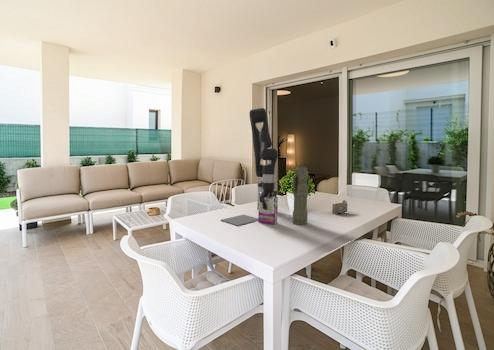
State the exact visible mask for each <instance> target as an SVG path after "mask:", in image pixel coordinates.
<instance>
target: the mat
mask: <svg viewBox="0 0 494 350" xmlns="http://www.w3.org/2000/svg"><path fill="white" fill-rule="evenodd" d="M220 222H223V223H227V224H229V225H233V226H236V227H239V226H243V225H247V224H251V223H255V222H258V217H254V216H249V215H246V214H240V215H236V216H231V217H227V218H223V219H220Z"/></svg>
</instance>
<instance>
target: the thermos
mask: <svg viewBox="0 0 494 350" xmlns="http://www.w3.org/2000/svg"><path fill="white" fill-rule="evenodd" d="M309 188H310V175H309V173H308V168H307V167H306V166H296V168H295V170H294V175H293V177H292V193H293V211H292V224H293V225H297V226H306V225H308V211H307V210H308V196H309V190H310V189H309ZM305 224H306V225H305Z"/></svg>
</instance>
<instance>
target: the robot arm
mask: <svg viewBox="0 0 494 350" xmlns="http://www.w3.org/2000/svg"><path fill="white" fill-rule="evenodd" d="M248 114H249V120H250V121H249V122H250V127H251V133H252V135H251V136H252V145H253V146H252V147H253V153H254V166H255V169H254V170H255V175H256V177H257V178H262V179H261V180H262V181H258V182H257V196H256V197H257V198H256V199H257V204H256V205H257V207H256V209H257V211H259V196H260V202H262V203H263V209H266V202H267V200H268V197H278V196H277V195H278V191H277V190H275V187H276V186H275V185H276V182H275V180H276V177H275V170H276V169H275V168H276V164H277V160H278V156H279V152H278V150H277V149H276V148H271V147H272V145H273V143H272V142H273V141H272V138H271V134H270V129H269V128H270V127H269V121H268V114H267V111H266V109H265V108H264V107H260V108H259V107H258V108H254V109H253V108H252V109H250V110H249V113H248ZM259 123H260V124H261V123H262V126H261V128H260V129H258V127H257V124H259ZM261 160H262V161H269V163H266V164H261ZM264 197H266V198H264ZM264 199H265V201H264Z"/></svg>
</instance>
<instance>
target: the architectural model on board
mask: <svg viewBox="0 0 494 350" xmlns="http://www.w3.org/2000/svg"><path fill="white" fill-rule="evenodd" d="M341 201H342V202H336V203H332V207H331V208H332V211H331V214H332V213H333V214H332V215H334V214H337V215H339V214H338V213H344V214H346V213H345V212H347V213H348V202H347V200H346V199H342V200H341Z"/></svg>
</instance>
